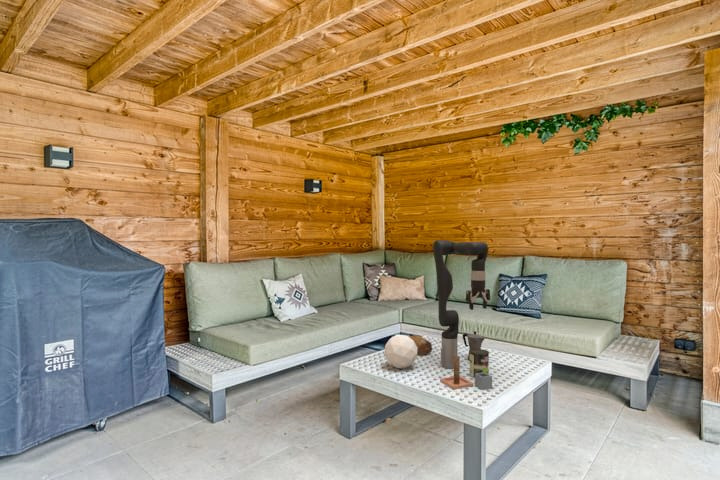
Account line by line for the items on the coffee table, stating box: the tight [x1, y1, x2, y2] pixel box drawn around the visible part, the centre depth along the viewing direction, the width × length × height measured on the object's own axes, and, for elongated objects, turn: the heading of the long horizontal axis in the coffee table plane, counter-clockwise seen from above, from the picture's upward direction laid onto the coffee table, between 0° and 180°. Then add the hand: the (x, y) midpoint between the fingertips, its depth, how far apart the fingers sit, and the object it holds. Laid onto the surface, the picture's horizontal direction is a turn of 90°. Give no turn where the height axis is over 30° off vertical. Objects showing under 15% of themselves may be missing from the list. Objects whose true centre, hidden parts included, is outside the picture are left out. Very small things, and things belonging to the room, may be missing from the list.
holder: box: [474, 372, 493, 391], centre depth 211 cm, size 6×6×7 cm
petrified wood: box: [407, 334, 433, 356], centre depth 275 cm, size 19×13×10 cm
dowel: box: [453, 355, 461, 385], centre depth 215 cm, size 3×3×14 cm
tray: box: [439, 375, 474, 390], centre depth 215 cm, size 12×12×2 cm
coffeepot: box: [462, 330, 486, 362], centre depth 258 cm, size 15×9×18 cm, turn 44°
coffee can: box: [468, 348, 490, 379], centre depth 228 cm, size 10×10×14 cm
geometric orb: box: [384, 334, 418, 370], centre depth 245 cm, size 19×20×20 cm
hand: (478, 309), depth 223 cm, fingers open, 8 cm apart
